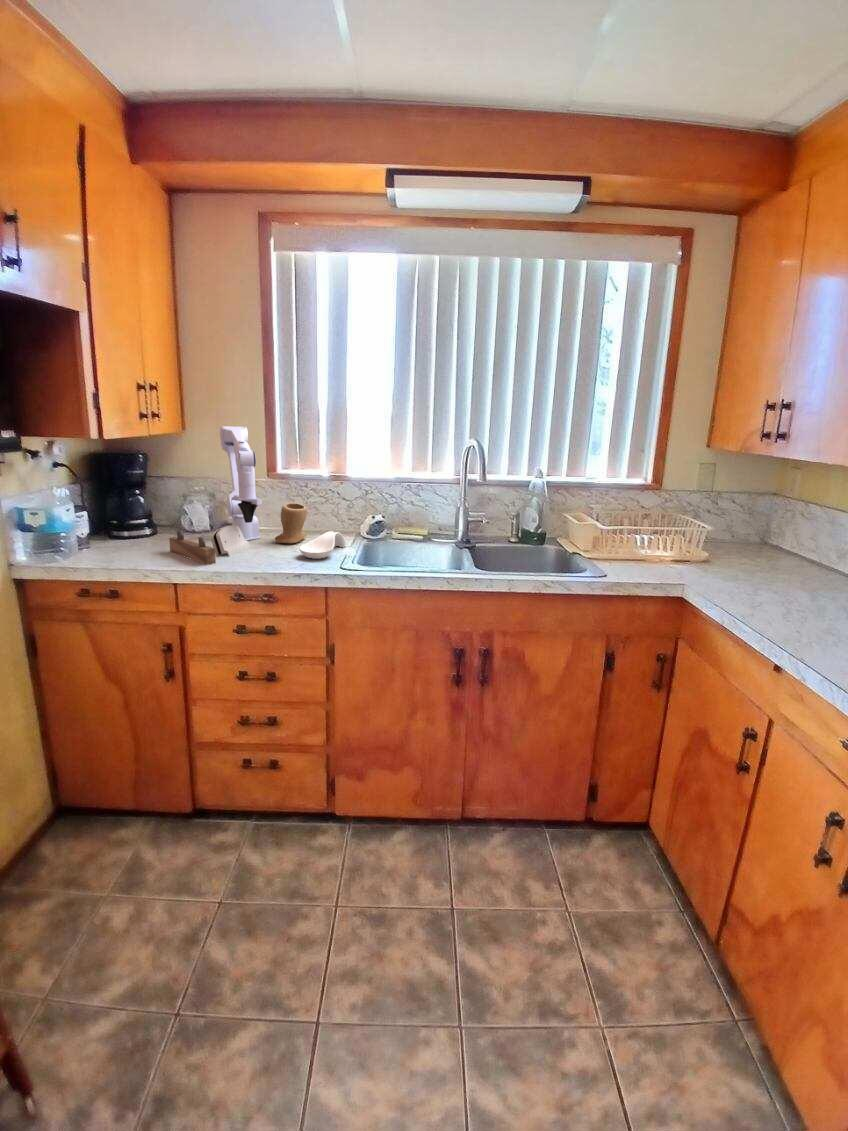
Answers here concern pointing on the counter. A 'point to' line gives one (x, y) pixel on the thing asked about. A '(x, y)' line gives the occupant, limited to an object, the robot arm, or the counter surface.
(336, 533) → the spoon rest
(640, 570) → the counter surface
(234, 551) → the white curved piece
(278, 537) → the brown boot vase
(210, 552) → the stop fence
